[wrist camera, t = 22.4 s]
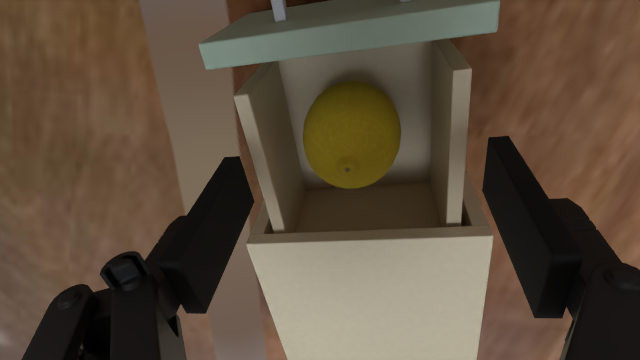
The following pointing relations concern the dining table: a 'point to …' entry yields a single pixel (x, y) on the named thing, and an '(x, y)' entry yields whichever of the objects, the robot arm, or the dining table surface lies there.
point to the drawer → (364, 66)
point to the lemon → (351, 134)
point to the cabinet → (377, 288)
